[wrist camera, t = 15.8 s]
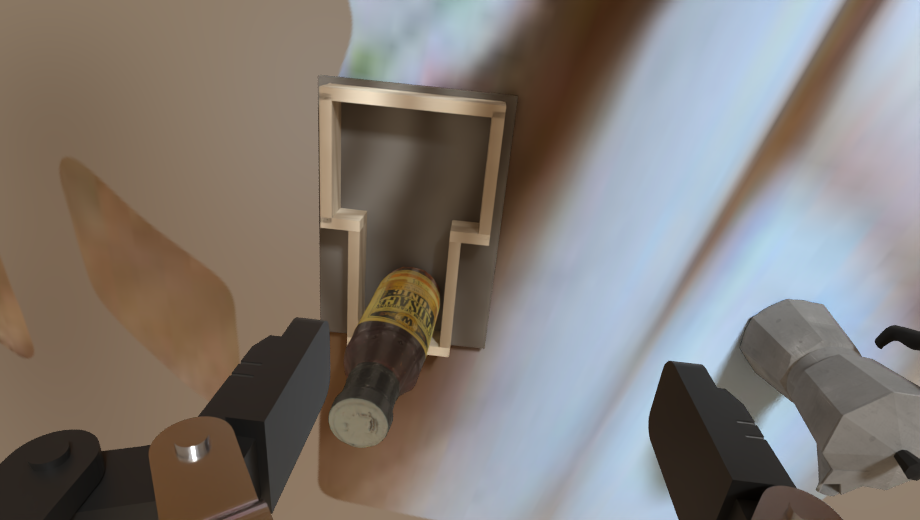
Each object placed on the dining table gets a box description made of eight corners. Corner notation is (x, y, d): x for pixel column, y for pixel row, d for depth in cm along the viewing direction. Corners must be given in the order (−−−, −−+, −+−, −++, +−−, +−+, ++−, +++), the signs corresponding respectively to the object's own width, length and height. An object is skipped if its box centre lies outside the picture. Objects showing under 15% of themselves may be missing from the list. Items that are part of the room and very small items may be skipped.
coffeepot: (774, 403, 56) (892, 556, 40) (705, 362, 55) (798, 504, 38) (891, 294, 51) (1085, 419, 34) (817, 245, 49) (983, 351, 33)
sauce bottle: (454, 284, 52) (434, 420, 33) (420, 329, 54) (384, 480, 36) (396, 249, 51) (343, 369, 32) (365, 296, 53) (298, 435, 34)
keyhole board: (517, 95, 45) (519, 100, 42) (484, 343, 55) (484, 365, 52) (321, 75, 46) (306, 78, 42) (323, 325, 55) (311, 346, 52)
